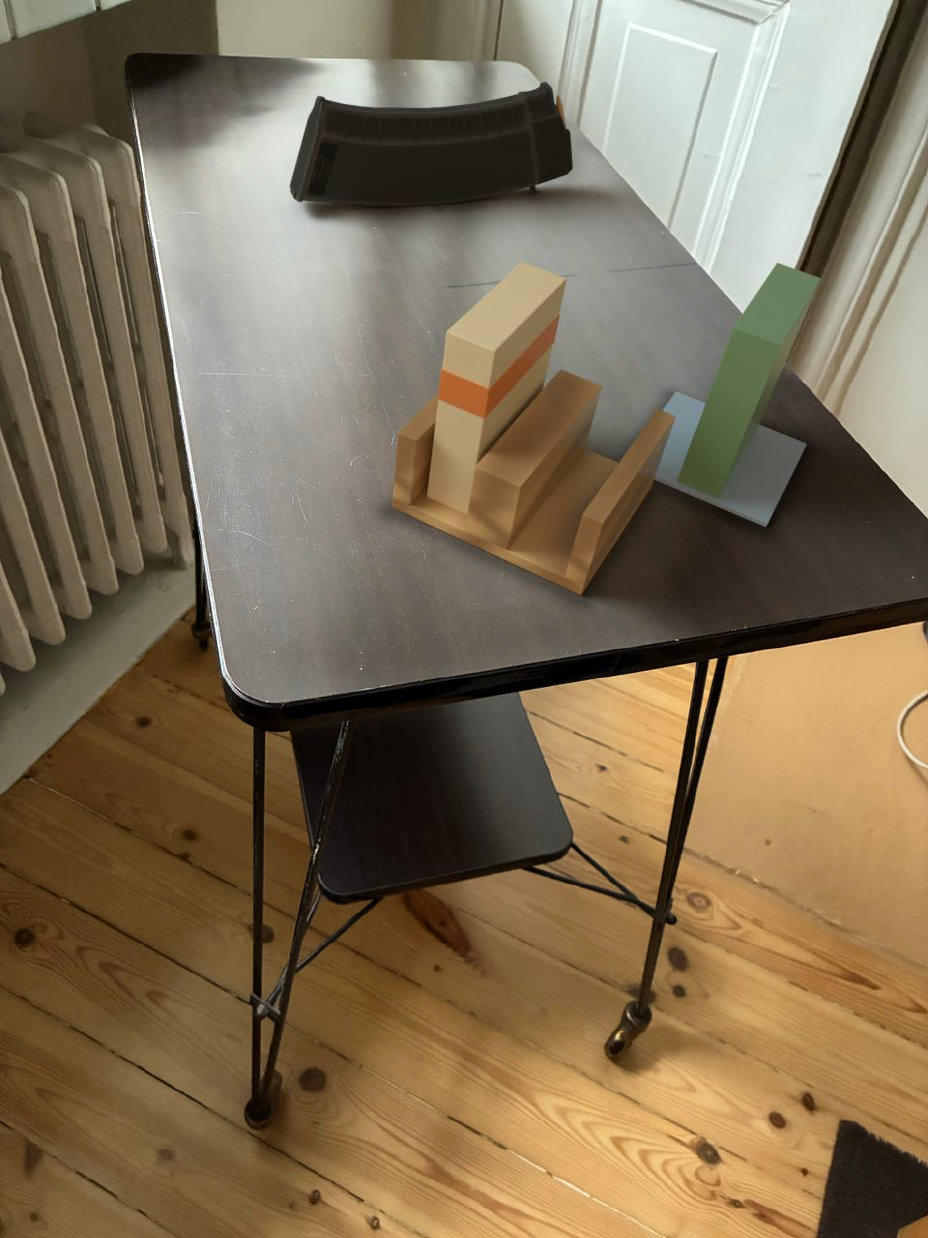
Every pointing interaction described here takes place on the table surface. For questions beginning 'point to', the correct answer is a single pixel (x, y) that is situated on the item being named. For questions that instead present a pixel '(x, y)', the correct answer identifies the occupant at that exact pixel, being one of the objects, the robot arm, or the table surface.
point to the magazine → (431, 151)
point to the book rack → (539, 484)
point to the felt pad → (752, 478)
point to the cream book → (491, 375)
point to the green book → (747, 378)
